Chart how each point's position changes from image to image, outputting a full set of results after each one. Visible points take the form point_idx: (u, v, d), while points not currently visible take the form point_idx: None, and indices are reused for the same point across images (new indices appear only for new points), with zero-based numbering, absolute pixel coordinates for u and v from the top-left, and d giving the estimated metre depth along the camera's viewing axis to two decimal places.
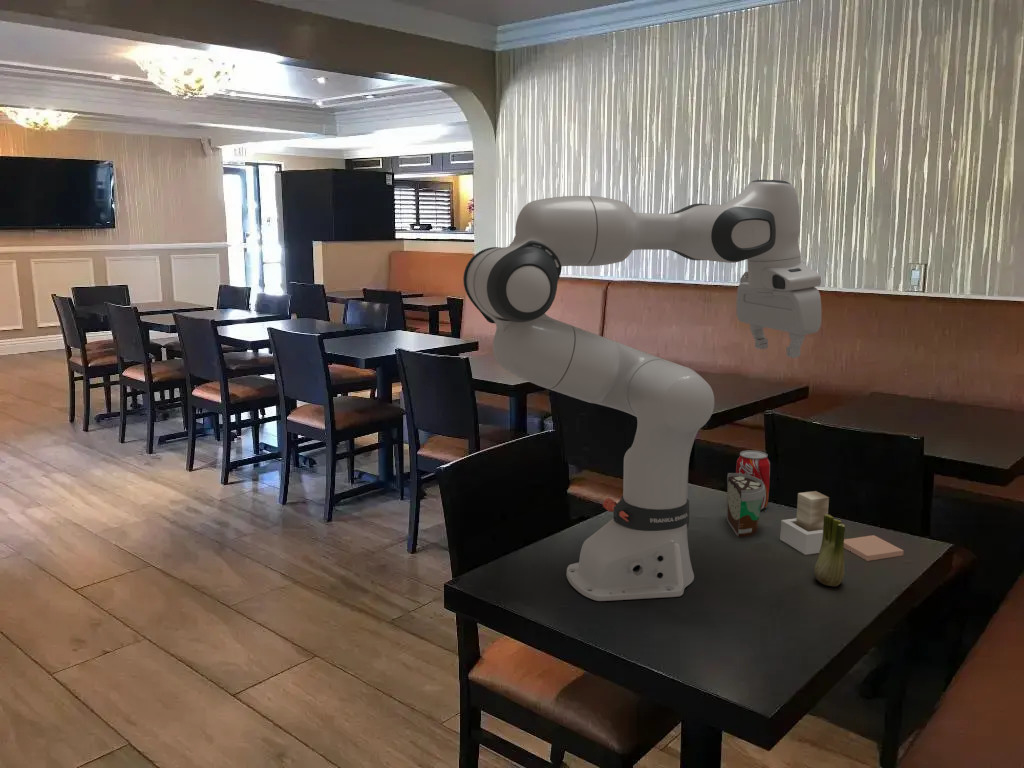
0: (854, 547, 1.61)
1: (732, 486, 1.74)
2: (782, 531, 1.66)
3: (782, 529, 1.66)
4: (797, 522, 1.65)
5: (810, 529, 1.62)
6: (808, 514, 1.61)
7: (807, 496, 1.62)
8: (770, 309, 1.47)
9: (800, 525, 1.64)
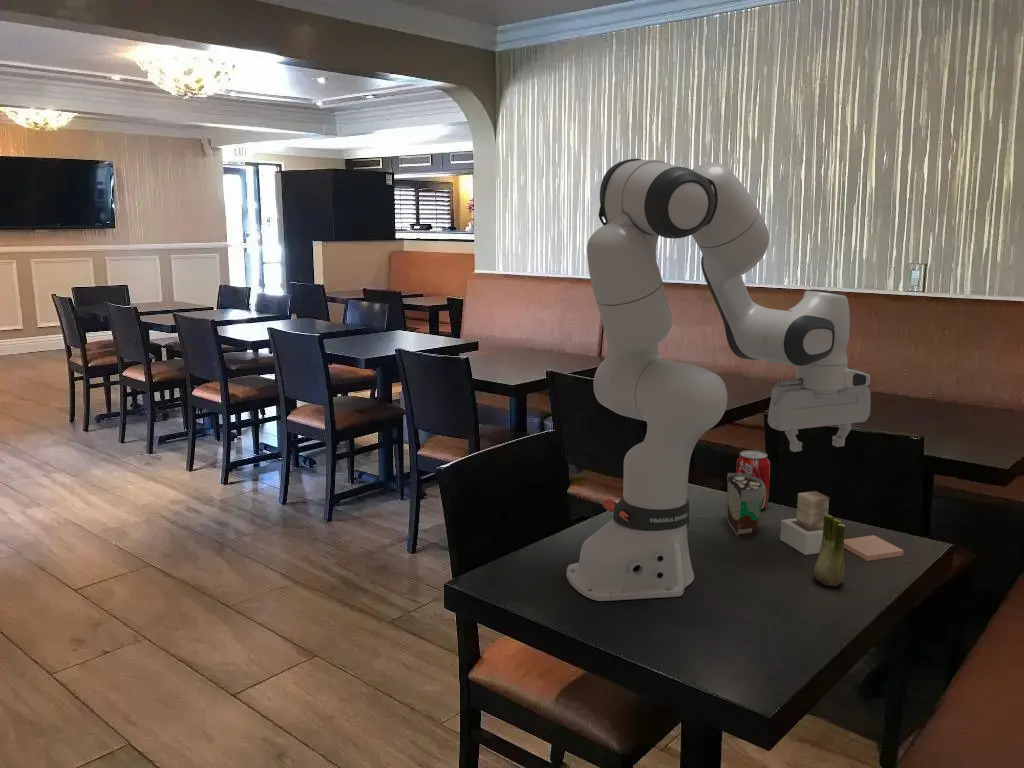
0: (854, 547, 1.61)
1: (732, 486, 1.74)
2: (782, 531, 1.66)
3: (782, 529, 1.66)
4: (797, 522, 1.65)
5: (810, 529, 1.62)
6: (808, 514, 1.61)
7: (807, 496, 1.62)
8: (830, 408, 1.58)
9: (800, 525, 1.64)
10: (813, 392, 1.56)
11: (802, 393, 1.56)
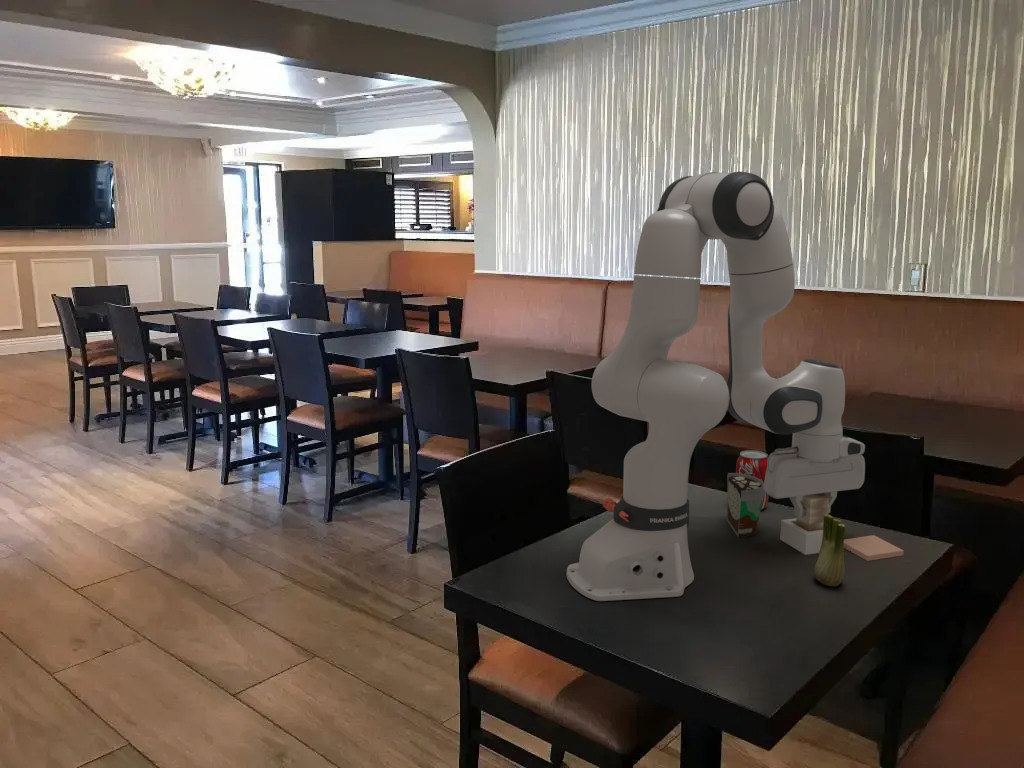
0: (854, 547, 1.61)
1: (732, 486, 1.74)
2: (782, 531, 1.66)
3: (782, 529, 1.66)
4: (797, 522, 1.65)
5: (810, 529, 1.62)
6: (808, 514, 1.61)
7: (807, 496, 1.62)
8: (825, 476, 1.61)
9: (800, 525, 1.64)
10: (808, 461, 1.59)
11: (798, 462, 1.58)
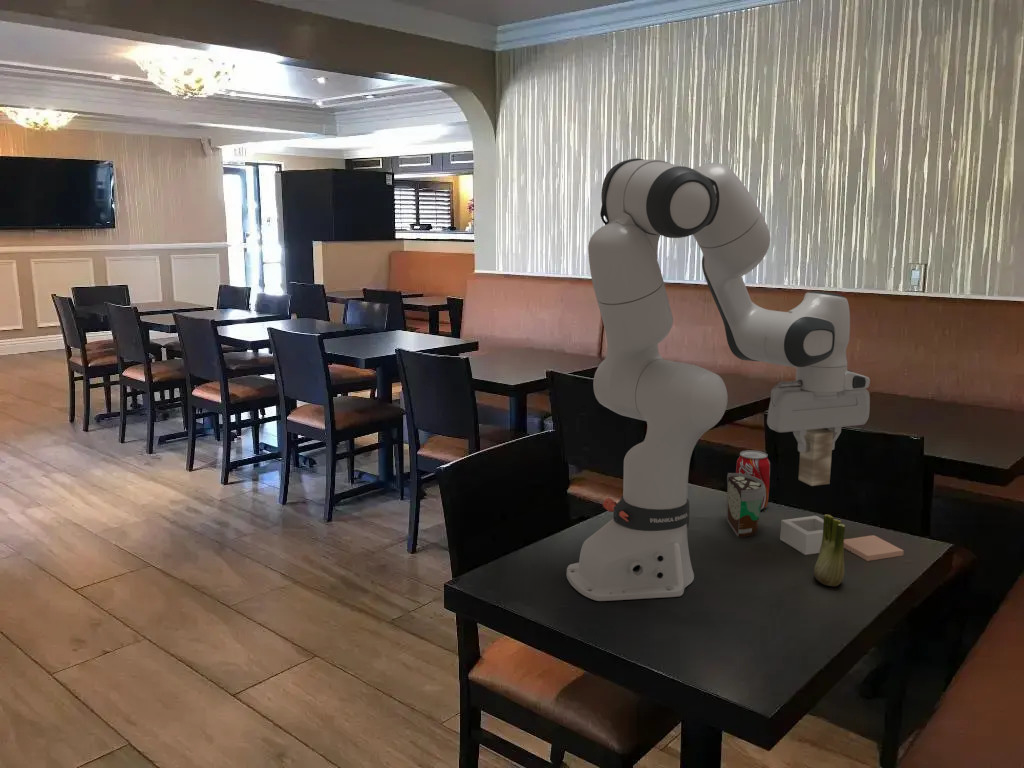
0: (854, 547, 1.61)
1: (732, 486, 1.74)
2: (782, 531, 1.66)
3: (782, 529, 1.66)
4: (800, 459, 1.62)
5: (814, 465, 1.59)
6: (812, 450, 1.59)
7: (811, 431, 1.60)
8: (830, 410, 1.58)
9: (804, 461, 1.61)
10: (813, 394, 1.56)
11: (802, 395, 1.56)
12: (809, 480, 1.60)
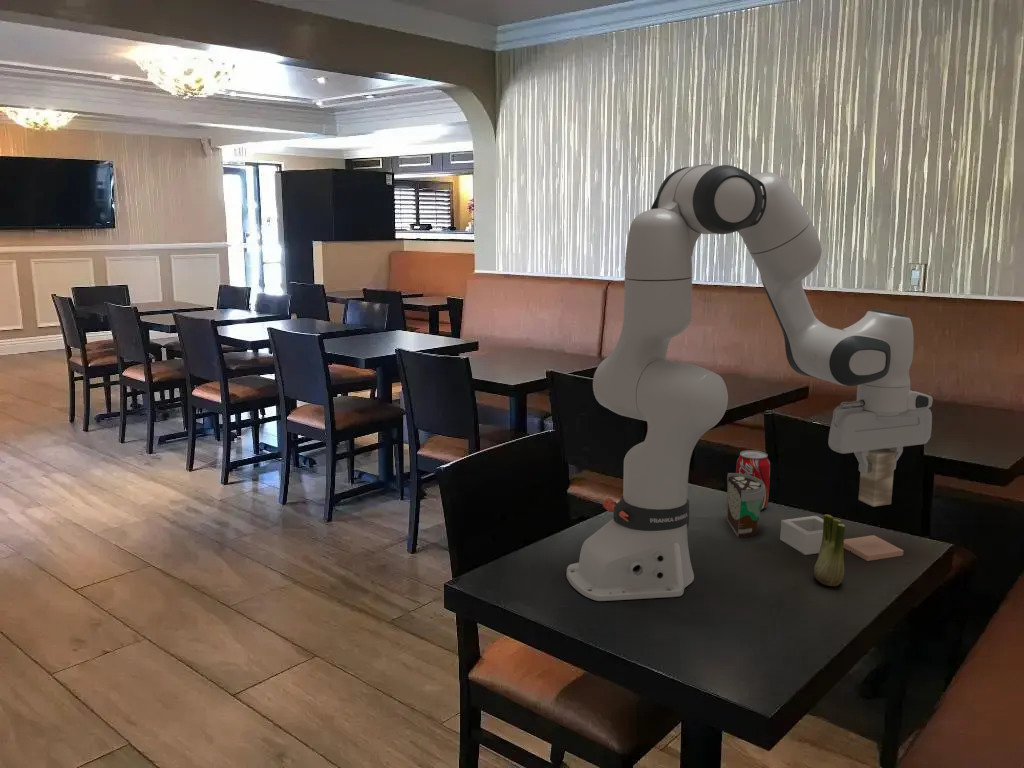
0: (854, 547, 1.61)
1: (732, 486, 1.74)
2: (782, 531, 1.66)
3: (782, 529, 1.66)
4: (861, 479, 1.60)
5: (876, 485, 1.57)
6: (874, 470, 1.57)
7: (872, 451, 1.57)
8: (892, 430, 1.56)
9: (864, 482, 1.59)
10: (875, 414, 1.54)
11: (864, 415, 1.53)
12: (871, 501, 1.58)
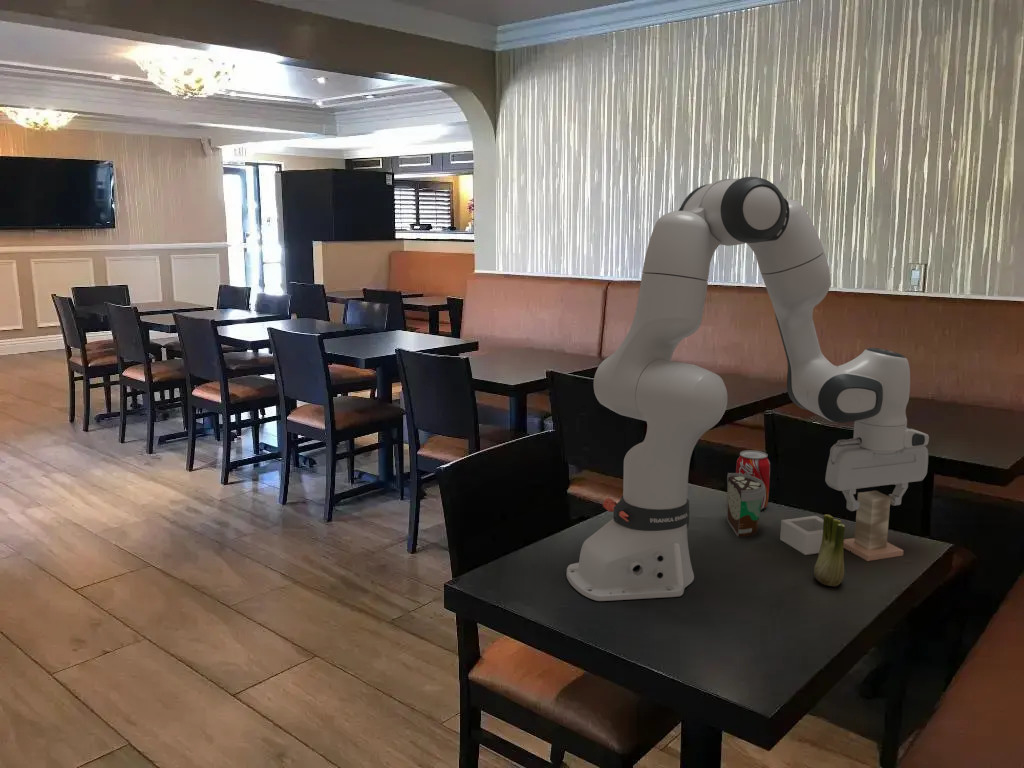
0: (854, 547, 1.61)
1: (732, 486, 1.74)
2: (782, 531, 1.66)
3: (782, 529, 1.66)
4: (856, 522, 1.62)
5: (871, 529, 1.58)
6: (869, 515, 1.58)
7: (868, 496, 1.59)
8: (888, 468, 1.57)
9: (860, 525, 1.61)
10: (872, 452, 1.55)
11: (861, 453, 1.55)
12: (867, 545, 1.60)
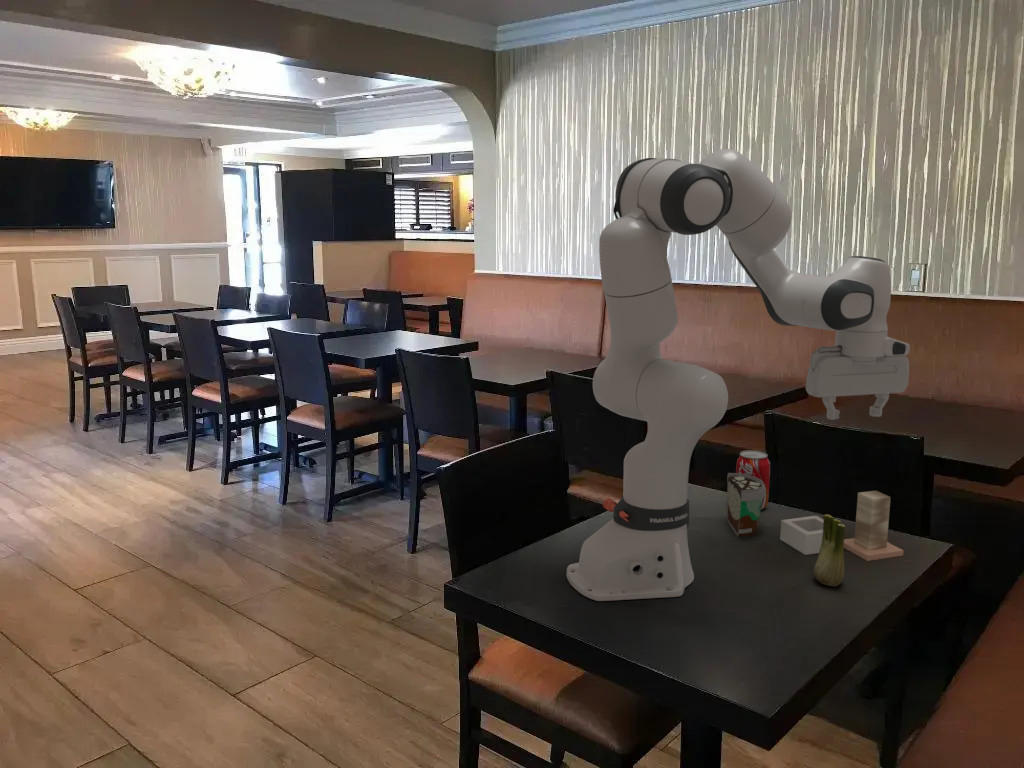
0: (854, 547, 1.61)
1: (732, 486, 1.74)
2: (782, 531, 1.66)
3: (782, 529, 1.66)
4: (856, 522, 1.62)
5: (871, 529, 1.58)
6: (869, 515, 1.58)
7: (868, 496, 1.59)
8: (869, 377, 1.58)
9: (860, 525, 1.61)
10: (852, 359, 1.56)
11: (841, 360, 1.55)
12: (867, 545, 1.60)
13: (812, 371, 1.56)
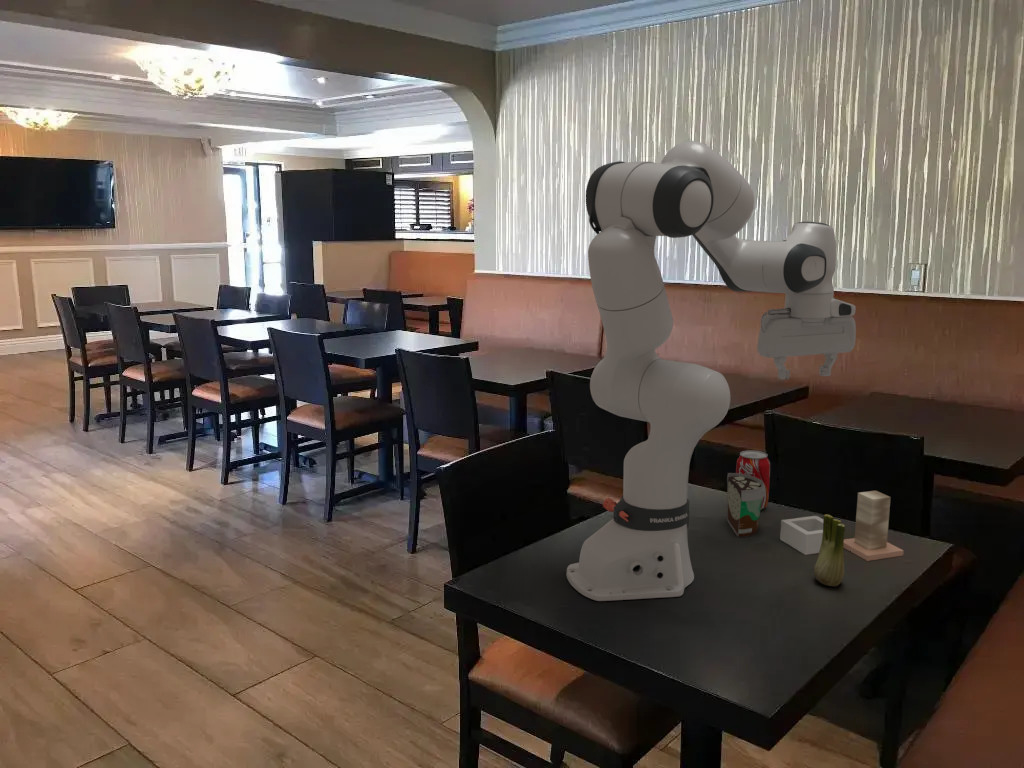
0: (854, 547, 1.61)
1: (732, 486, 1.74)
2: (782, 531, 1.66)
3: (782, 529, 1.66)
4: (856, 522, 1.62)
5: (871, 529, 1.58)
6: (869, 515, 1.58)
7: (868, 496, 1.59)
8: (817, 337, 1.65)
9: (860, 525, 1.61)
10: (801, 321, 1.63)
11: (790, 321, 1.62)
12: (867, 545, 1.60)
13: (763, 333, 1.63)
